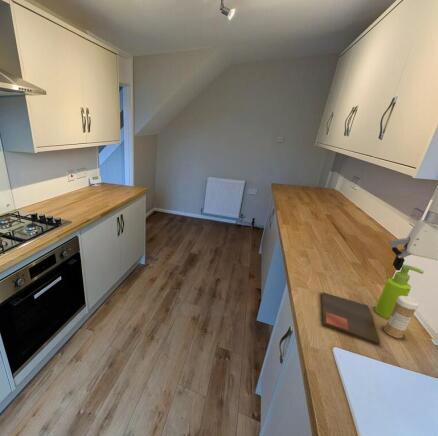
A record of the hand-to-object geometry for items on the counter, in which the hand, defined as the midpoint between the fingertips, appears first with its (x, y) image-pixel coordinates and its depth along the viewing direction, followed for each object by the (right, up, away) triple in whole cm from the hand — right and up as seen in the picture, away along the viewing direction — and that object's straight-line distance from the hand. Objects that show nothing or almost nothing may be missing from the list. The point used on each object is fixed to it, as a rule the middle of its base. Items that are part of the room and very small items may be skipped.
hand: (419, 273), depth 70 cm
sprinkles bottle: (0, -22, +8) cm, 23 cm away
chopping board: (-9, -19, +14) cm, 25 cm away
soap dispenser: (+7, -19, +16) cm, 25 cm away
